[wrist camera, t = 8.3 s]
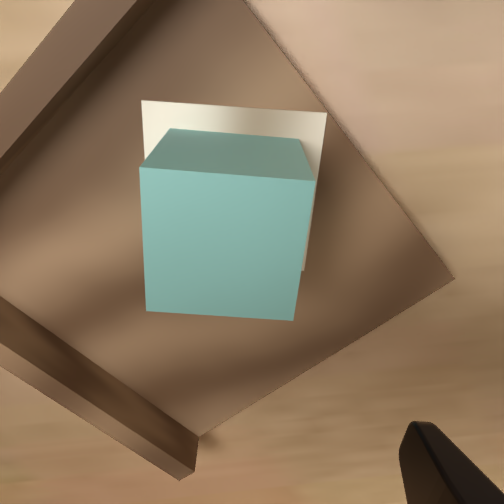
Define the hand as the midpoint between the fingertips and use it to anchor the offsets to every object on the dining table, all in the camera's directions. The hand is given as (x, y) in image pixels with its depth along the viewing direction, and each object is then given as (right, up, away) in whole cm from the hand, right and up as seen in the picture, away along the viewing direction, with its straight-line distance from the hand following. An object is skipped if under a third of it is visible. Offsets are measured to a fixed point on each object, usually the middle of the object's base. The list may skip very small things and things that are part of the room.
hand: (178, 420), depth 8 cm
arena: (-2, +3, +12) cm, 12 cm away
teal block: (+1, +6, +9) cm, 11 cm away
